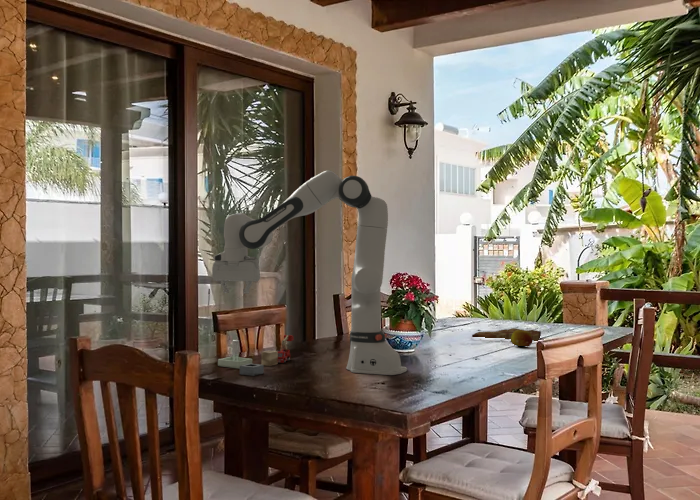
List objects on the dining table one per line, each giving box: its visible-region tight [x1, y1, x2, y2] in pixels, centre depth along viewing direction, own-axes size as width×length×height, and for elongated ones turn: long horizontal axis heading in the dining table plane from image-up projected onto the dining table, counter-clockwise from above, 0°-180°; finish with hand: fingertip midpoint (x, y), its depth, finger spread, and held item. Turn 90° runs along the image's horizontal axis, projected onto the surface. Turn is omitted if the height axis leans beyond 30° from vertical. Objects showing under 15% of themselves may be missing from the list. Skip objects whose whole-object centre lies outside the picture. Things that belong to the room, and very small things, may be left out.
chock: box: [260, 349, 279, 367], centre depth 268 cm, size 4×5×5 cm
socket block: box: [239, 363, 265, 377], centre depth 248 cm, size 6×6×3 cm
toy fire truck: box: [277, 334, 295, 364], centre depth 278 cm, size 3×14×10 cm, turn 168°
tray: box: [217, 356, 253, 370], centre depth 264 cm, size 10×8×2 cm
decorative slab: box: [471, 327, 542, 341], centre depth 352 cm, size 32×22×5 cm
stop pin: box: [231, 339, 240, 361], centre depth 264 cm, size 2×2×9 cm
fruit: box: [510, 330, 533, 347], centre depth 322 cm, size 10×9×8 cm
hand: (236, 293), depth 264 cm, fingers open, 8 cm apart
